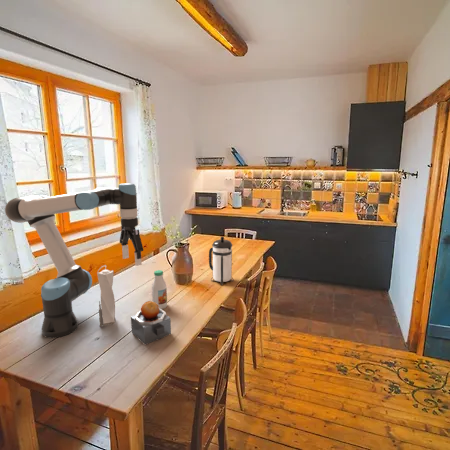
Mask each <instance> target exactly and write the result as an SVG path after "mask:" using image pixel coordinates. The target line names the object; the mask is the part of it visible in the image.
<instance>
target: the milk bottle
mask: <svg viewBox="0 0 450 450" xmlns="http://www.w3.org/2000/svg"><path fill="white" fill-rule="evenodd" d="M153 276H154V278H153V279H154V280H153V282H152V284H151V285H152V286H151V297H152V302H155V303H156V304H157V305H158V306H159V308H160V309H162V310H163V309H165V308H166V307H168V293H167V291H168V289H167V283H166V281H165V279H164V271H163V270H162V269H158V270H154V272H153Z"/></svg>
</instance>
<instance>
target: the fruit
mask: <svg viewBox="0 0 450 450" xmlns="http://www.w3.org/2000/svg"><path fill="white" fill-rule="evenodd" d="M140 311H141V313H142V315H143V316H144V317H145V318H147V319H152V318H154V317H156V316H157V315H158V314H159V306H158V305H157V304H156V303H155V302H152V301H151V300H148V301H145V302H144V303H143V304H141V307H140Z"/></svg>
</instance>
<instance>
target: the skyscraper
mask: <svg viewBox="0 0 450 450" xmlns="http://www.w3.org/2000/svg"><path fill="white" fill-rule="evenodd" d="M104 267H105V268H104ZM102 268H104V269H102ZM101 269H102V270H101ZM100 270H101V271H100ZM99 271H100V272H99ZM96 274H97V279H98V280H97V281H98V286H99V289H100V300H99V301H98V303H99V304H98V307H99V308H98V321H99V327H103V326H104V327H105V326H111V325H115V324H116V302H115V300H116V299H115V294H114V290H113V284H114V270H113V269H112V270H109V269H107V265H106V264H104V265H101V266H100V267H99V269H98V270H97V272H96Z"/></svg>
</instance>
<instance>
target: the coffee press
mask: <svg viewBox="0 0 450 450" xmlns="http://www.w3.org/2000/svg"><path fill="white" fill-rule="evenodd" d="M211 245H212V247H210V248H209V251H208V266H209V269H210V270H211V271H212V277H211V279H210V281H211V282H214V281H216V282H218V283H219V282H220V286H224V282H226V283H227V282H229V281H231V282H232V283H233V282H234V281H235V280H234V278H233V277H232V272H233V267H232V266H233V249H232V248H233V244H232V242H231V240H228V239H225V237H224V236H220V239H217V240H214V241H213V243H212V244H211Z"/></svg>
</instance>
